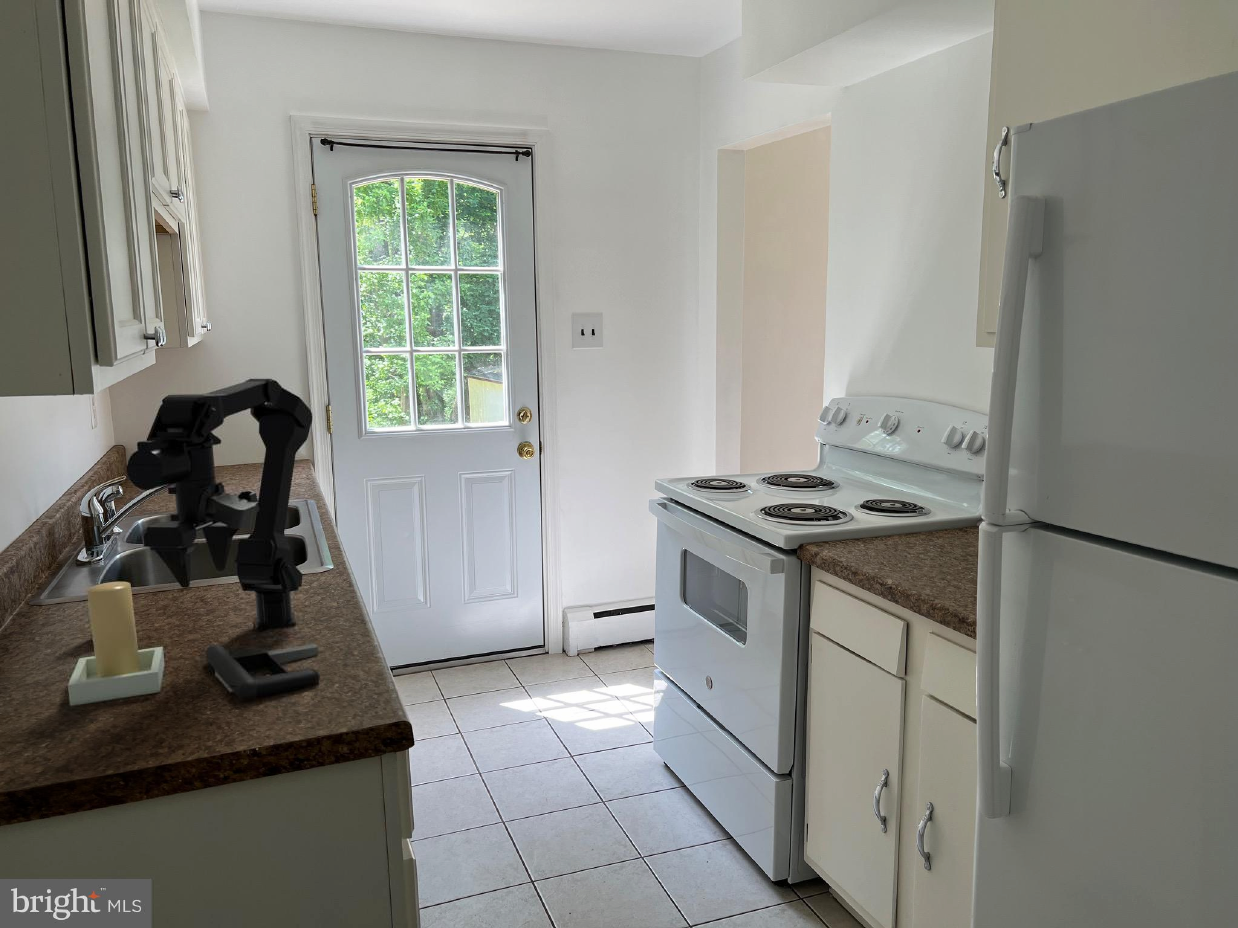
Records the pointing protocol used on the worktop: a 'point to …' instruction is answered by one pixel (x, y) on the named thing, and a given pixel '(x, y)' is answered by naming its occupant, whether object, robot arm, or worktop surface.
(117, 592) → the tan rounded cylinder
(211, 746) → the worktop surface
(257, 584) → the robot arm
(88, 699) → the tray
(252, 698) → the door handle
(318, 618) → the worktop surface
